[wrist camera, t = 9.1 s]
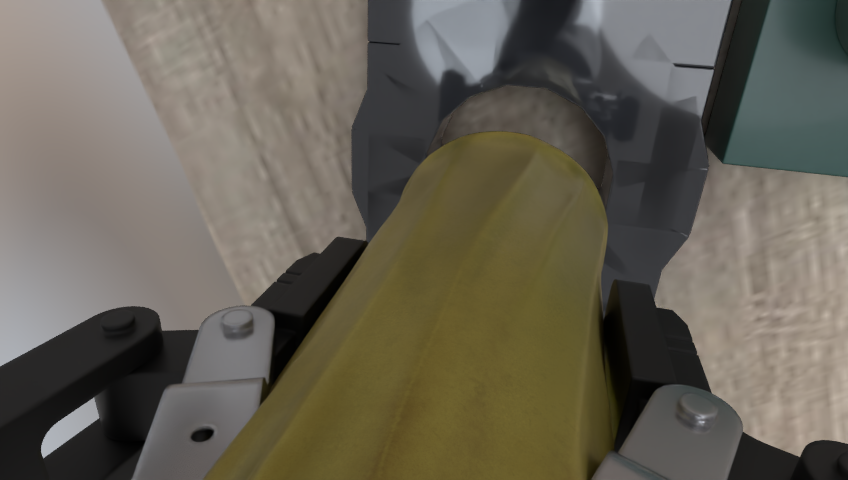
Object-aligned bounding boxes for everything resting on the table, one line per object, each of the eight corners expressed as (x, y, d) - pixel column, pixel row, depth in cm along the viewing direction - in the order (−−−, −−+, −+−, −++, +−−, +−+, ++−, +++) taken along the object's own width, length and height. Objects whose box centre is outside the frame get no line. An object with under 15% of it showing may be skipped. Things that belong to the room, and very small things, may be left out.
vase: (588, 333, 17) (650, 1348, 4) (398, 304, 18) (4, 1023, 5) (625, 139, 14) (1050, 1227, 2) (400, 120, 16) (-326, 669, 3)
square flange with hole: (376, -28, 22) (349, -32, 19) (733, -10, 19) (759, -11, 17) (372, 277, 28) (351, 307, 25) (646, 322, 25) (655, 360, 23)
